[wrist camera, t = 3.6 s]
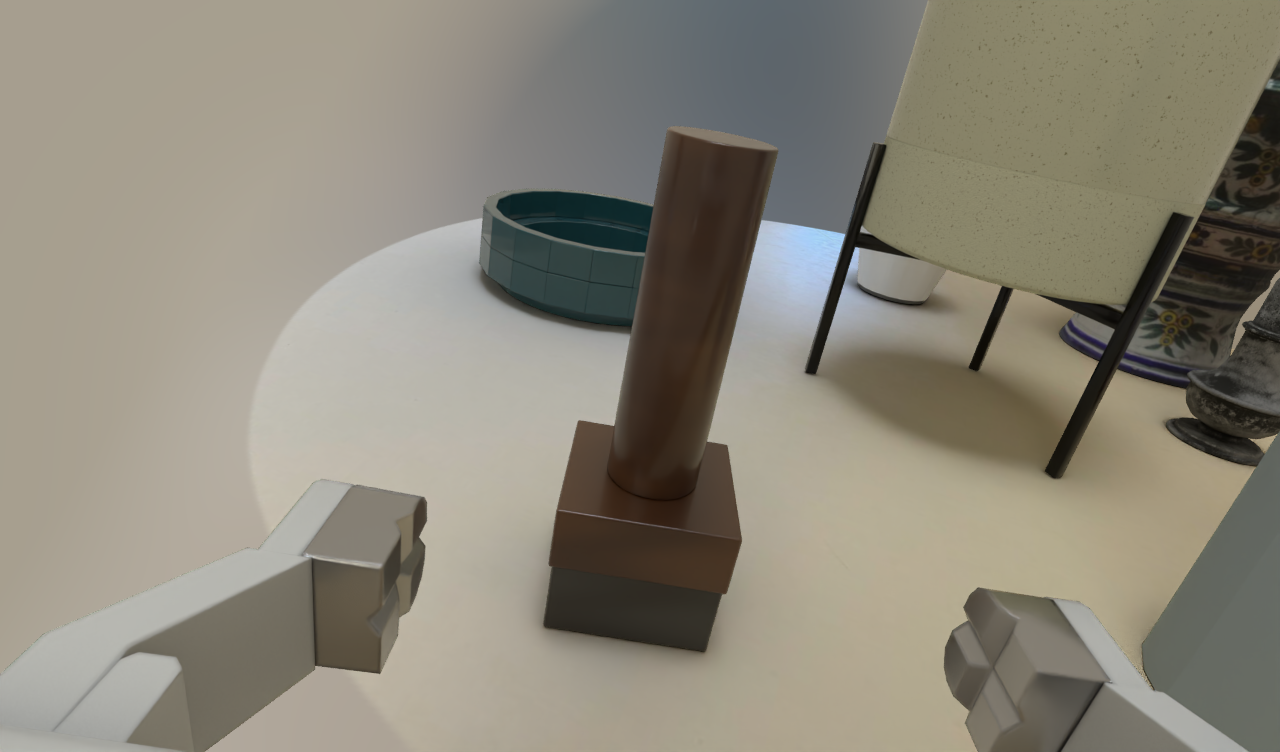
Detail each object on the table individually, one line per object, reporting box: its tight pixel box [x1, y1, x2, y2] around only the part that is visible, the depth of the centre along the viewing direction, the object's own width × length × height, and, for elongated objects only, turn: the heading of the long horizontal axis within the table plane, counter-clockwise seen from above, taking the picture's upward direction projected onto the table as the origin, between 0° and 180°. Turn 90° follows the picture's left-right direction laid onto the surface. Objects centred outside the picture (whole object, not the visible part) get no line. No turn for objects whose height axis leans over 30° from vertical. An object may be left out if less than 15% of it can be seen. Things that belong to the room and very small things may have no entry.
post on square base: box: [543, 126, 778, 651], centre depth 20 cm, size 5×5×14 cm
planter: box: [805, 0, 1280, 478], centre depth 38 cm, size 15×16×23 cm
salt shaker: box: [1166, 278, 1280, 465], centre depth 41 cm, size 6×6×12 cm
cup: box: [857, 226, 947, 304], centre depth 61 cm, size 10×10×9 cm
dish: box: [479, 189, 654, 326], centre depth 50 cm, size 17×17×5 cm
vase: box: [1059, 60, 1280, 388], centre depth 52 cm, size 17×17×30 cm
